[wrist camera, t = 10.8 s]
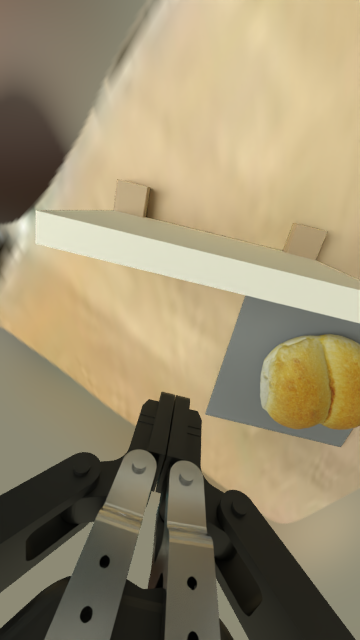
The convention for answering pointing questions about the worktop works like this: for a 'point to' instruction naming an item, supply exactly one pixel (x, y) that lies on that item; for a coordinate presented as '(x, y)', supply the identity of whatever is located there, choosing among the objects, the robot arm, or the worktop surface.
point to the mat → (248, 356)
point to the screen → (204, 254)
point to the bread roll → (313, 382)
